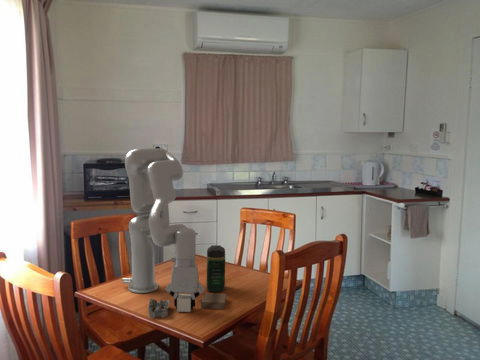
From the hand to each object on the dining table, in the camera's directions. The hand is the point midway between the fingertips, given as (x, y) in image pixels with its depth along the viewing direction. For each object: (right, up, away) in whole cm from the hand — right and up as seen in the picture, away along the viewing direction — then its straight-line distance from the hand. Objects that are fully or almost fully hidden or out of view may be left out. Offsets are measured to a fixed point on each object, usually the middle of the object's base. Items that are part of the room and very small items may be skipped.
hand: (184, 307), depth 169 cm
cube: (0, -1, 0) cm, 1 cm away
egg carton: (-9, -2, -2) cm, 10 cm away
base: (+11, -1, +6) cm, 12 cm away
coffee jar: (+10, +1, +23) cm, 25 cm away
